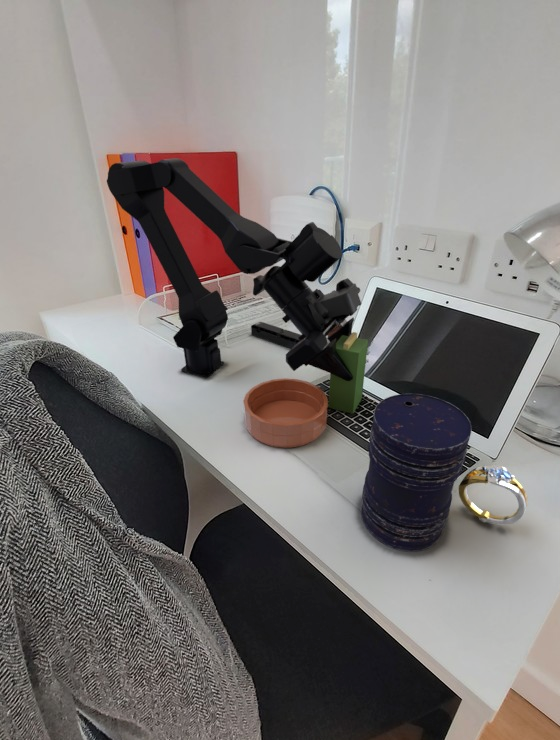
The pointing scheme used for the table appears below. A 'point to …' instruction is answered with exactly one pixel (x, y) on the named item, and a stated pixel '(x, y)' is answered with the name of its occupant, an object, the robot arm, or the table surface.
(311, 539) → the table surface
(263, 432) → the bowl
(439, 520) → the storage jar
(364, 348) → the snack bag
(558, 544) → the table surface
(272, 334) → the tablet stand
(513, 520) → the ring
